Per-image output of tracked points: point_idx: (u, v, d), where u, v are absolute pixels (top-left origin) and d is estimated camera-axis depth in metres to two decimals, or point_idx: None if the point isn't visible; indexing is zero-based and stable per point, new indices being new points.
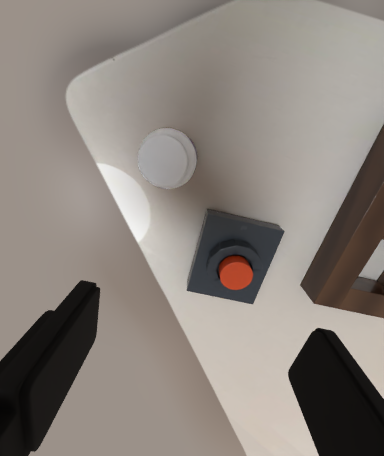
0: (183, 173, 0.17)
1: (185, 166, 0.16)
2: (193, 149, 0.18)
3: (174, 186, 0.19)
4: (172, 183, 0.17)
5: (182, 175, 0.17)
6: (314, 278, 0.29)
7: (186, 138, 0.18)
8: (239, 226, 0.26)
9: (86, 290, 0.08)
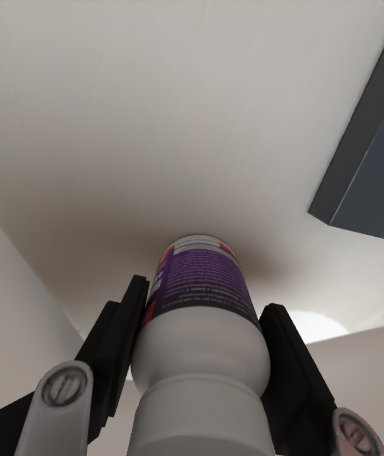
0: (239, 444, 0.05)
1: (216, 439, 0.05)
2: (173, 326, 0.07)
3: (266, 370, 0.07)
4: None
5: (246, 445, 0.05)
6: None
7: (148, 340, 0.07)
8: None
9: (141, 283, 0.09)
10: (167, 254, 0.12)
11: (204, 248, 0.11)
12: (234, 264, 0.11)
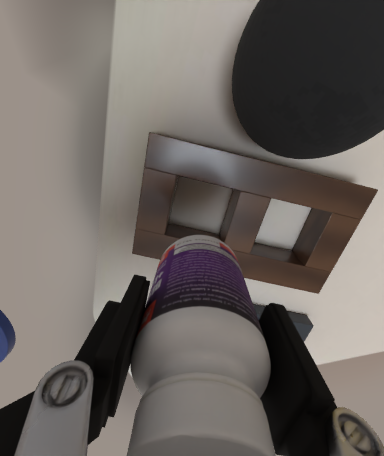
0: (239, 444, 0.05)
1: (216, 439, 0.05)
2: (173, 326, 0.07)
3: (266, 370, 0.07)
4: None
5: (246, 445, 0.05)
6: None
7: (148, 340, 0.07)
8: None
9: (141, 283, 0.09)
10: (167, 254, 0.12)
11: (205, 248, 0.11)
12: (234, 264, 0.11)
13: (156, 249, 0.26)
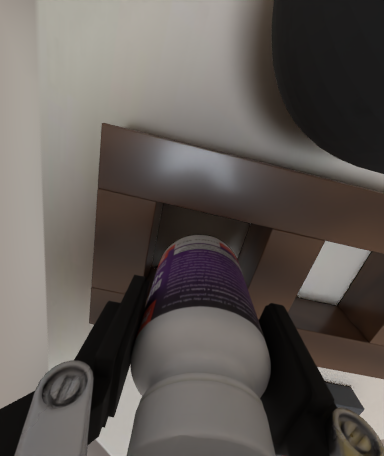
0: (240, 444, 0.05)
1: (216, 439, 0.05)
2: (173, 326, 0.07)
3: (266, 370, 0.07)
4: None
5: (246, 445, 0.05)
6: None
7: (148, 340, 0.07)
8: None
9: (141, 283, 0.09)
10: (167, 254, 0.12)
11: (205, 248, 0.11)
12: (234, 264, 0.11)
13: None
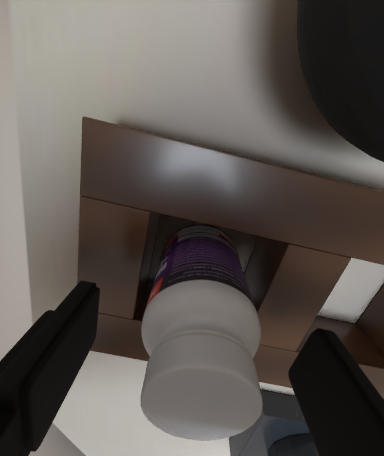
0: (231, 376, 0.06)
1: (213, 371, 0.06)
2: (178, 295, 0.08)
3: (257, 334, 0.09)
4: (256, 397, 0.06)
5: (236, 377, 0.06)
6: None
7: (157, 307, 0.08)
8: (250, 448, 0.21)
9: (86, 290, 0.08)
10: (171, 242, 0.14)
11: (205, 236, 0.13)
12: (231, 250, 0.13)
13: (119, 342, 0.14)
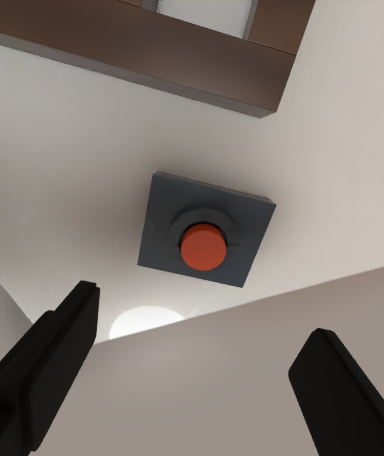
0: None
1: None
2: None
3: None
4: None
5: None
6: (236, 107, 0.17)
7: None
8: (150, 231, 0.21)
9: (86, 290, 0.08)
10: None
11: None
12: None
13: None
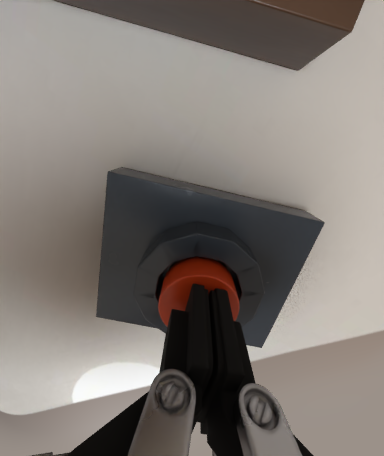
0: None
1: None
2: None
3: None
4: None
5: None
6: (258, 39, 0.09)
7: None
8: (111, 267, 0.13)
9: (202, 292, 0.09)
10: None
11: None
12: None
13: None
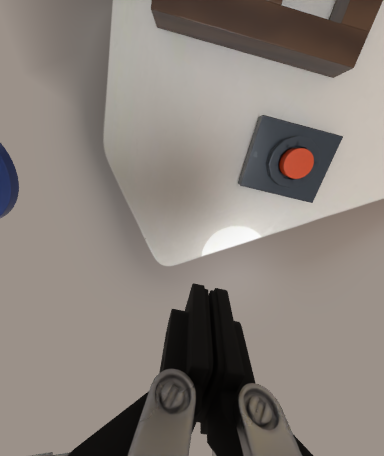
0: None
1: None
2: None
3: None
4: None
5: None
6: (323, 67, 0.27)
7: None
8: (253, 158, 0.31)
9: (202, 292, 0.09)
10: None
11: None
12: None
13: (177, 0, 0.23)
